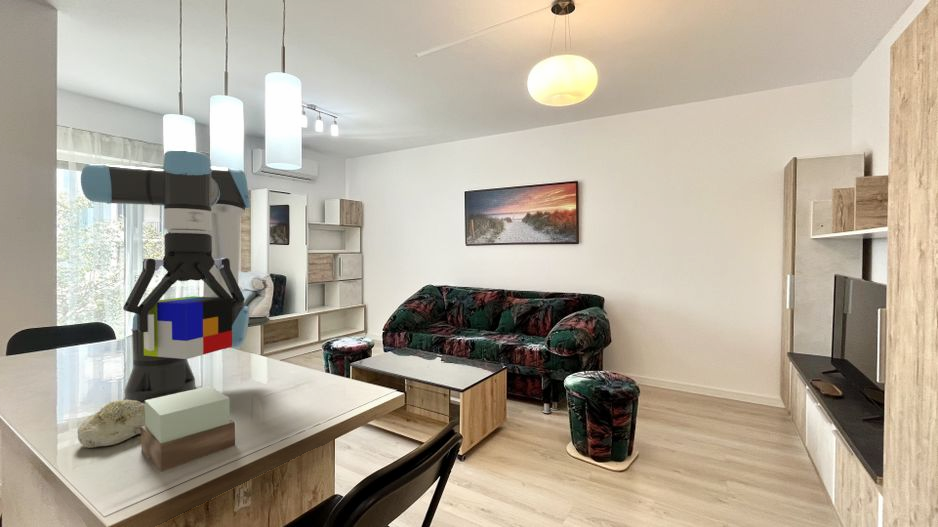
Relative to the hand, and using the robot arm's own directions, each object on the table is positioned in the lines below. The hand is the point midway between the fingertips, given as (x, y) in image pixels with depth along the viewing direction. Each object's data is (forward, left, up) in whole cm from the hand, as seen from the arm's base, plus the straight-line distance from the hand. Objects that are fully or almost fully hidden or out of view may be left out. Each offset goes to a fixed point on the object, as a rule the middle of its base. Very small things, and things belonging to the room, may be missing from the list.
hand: (189, 343), depth 77 cm
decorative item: (-17, -7, -21) cm, 28 cm away
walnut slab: (0, 0, -21) cm, 21 cm away
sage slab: (0, 0, -16) cm, 16 cm away
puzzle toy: (0, 0, -2) cm, 2 cm away
